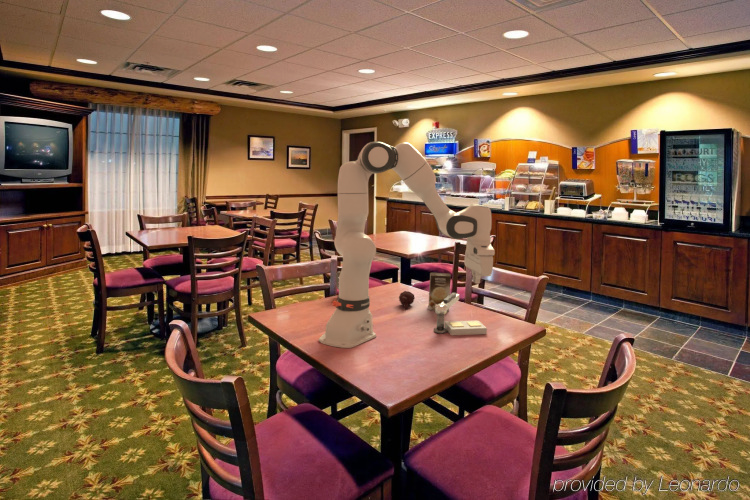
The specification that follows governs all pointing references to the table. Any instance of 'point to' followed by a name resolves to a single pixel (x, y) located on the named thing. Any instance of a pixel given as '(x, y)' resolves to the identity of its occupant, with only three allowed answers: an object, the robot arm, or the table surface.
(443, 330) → the post
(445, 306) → the bar
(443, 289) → the coffee box
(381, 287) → the table surface
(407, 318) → the table surface
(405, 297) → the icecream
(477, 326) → the block
